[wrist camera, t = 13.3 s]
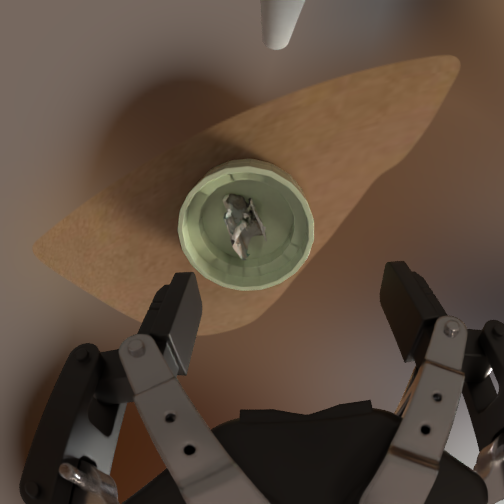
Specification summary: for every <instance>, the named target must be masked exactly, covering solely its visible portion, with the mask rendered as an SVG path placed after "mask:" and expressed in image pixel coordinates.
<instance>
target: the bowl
mask: <svg viewBox="0 0 504 504" xmlns="http://www.w3.org/2000/svg"><path fill="white" fill-rule="evenodd" d="M228 194H236V195H240V196H243V197H244V198H245V201H246V202H247V203H248V204H249V200H248V199H249V198H252V201H253V205H255V207H256V211H257V213H258V215H259V217H260V219H261V221H262V224H263V226H264V227H265V226H266V228H265V233H266V239H267V241H265V239H264V236H263V235H261V236H260V235H257V236H253V237H252V238H251V240H250V242H249V245H248V250H247V254H250V255H249V257H247V258H246V260H245V261H243V260H242V259H241V258H240V257H239V255H238V254H237V253H236V251H235V250H234V249H233V247H232V243H231V241H230V240H231V239H230V235H229V232H228V230H227V227H226V224H225V222H224V220H223V219H224V218H223V217H224V213H225V212H227V210H226V208H225V205H224V203H223V198H224V196H226V195H228ZM178 235H179V239H180V244H181V248H182V250H183V252H184V253H185V255H186V257H187V258H188V260H189V262H190V263H191V265H192V266H193V267H194V268H195V269H196V270H197V271H198V272H200V273H201V274H202V275H203V276H204V277H205V278H207V279H209V280H211V281H213V282H214V283H216V284H218V285H220V286H222V287H227V288H232V289H236V290H241V291H246V290H262V289H265V288H268V287H271V286H274V285H277V284H279V283H281V282H283V281H284V280H286V279H287V278H289V277H290V276H292V275H293V274H295V273H296V272H297V271H298V269H299V268H300V267H301V266H302V264H303V263H304V262H305V260H306V259H307V258H308V255H309V252H310V249H311V246H312V244H313V241H314V219H313V216H312V214H311V211H310V208H309V205H308V203H307V200H306V198H305V195H304V193H303V191H302V189H301V187H300V186H299V185H298V184H297V183H296V181H295V180H294V179H293V178H292V177H291V175H290V174H289V173H287V172H285V171H284V170H282V169H280V168H279V167H277V166H275V165H274V164H271V163H269V162H264V161H260V160H256V159H239V160H231V161H228V162H225V163H223V164H221V165H219V166H216V167H214V168H212V169H211V170H210V171H209V172H207V173H206V174H205V175H204V176H203V177H202V178H201V179H200V180H199V181H198V182H197V183H196V184H195V186H194V187H193V188H192V189H191V190H190V192H189V193H188V195H187V197H186V199H185V201H184V203H183V205H182V207H181V209H180V212H179V221H178ZM265 245H266V246H265Z"/></svg>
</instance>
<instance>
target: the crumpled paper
mask: <svg viewBox="0 0 504 504" xmlns="http://www.w3.org/2000/svg"><path fill="white" fill-rule="evenodd" d="M248 200H249V204H248V203H247V202H246V201H245V198H244V197H243V196H240V195H236V194H228V195H226V196H224V198H223V203H224V205H225V208H226V210H227V212H225V213H224V217H223V218H224V219H223V220H224V222H225V224H226V227H227V230H228V232H229V235H230V239H231V240H230V241H231V243H232V247H233V249H234V250H235V251H236V253H237V254H238V255H239V257H240V258H241V259H242V260H243V261H245V260H246V258H247V257H249V255H250V254H247V250H248V245H249V242H250V240H251V238H252V237H253V236H257V235H260V236H261V235H263V236H264V239H265V241H267V239H266V233H265V228H266V226H265V227H264V226H263V224H262V221H261V219H260V217H259V215H258V213H257V211H256V207H255V205H253V201H252V198H249V199H248ZM265 246H266V245H265Z"/></svg>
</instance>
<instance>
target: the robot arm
mask: <svg viewBox="0 0 504 504" xmlns="http://www.w3.org/2000/svg"><path fill="white" fill-rule="evenodd" d="M380 302H381V306H382V308H383V311H384V313H385V315H386V318H387V320H388V322H389V324H390V327H391V329H392V332H393V334H394V337H395V339H396V341H397V344H398V347H399V349H400V351H401V354H402V357H403V359H404V362H405V363H406V362H411V361H415V363H416V366H415V368H414V370H413V373H412V375H411V378H410V380H409V383H408V385H407V387H406V390H405V392H404V394H403V397H402V399H401V401H400V403H399V405H398V407H397V409H396V411H395V412H394V413H391V412H389V411H385V410H381V409H375V408H372V405H371V401H370V400H366V401H360V402H353V403H346V404H339V405H337V406H334V407H331V408H328V409H325V410H322V411H319V412H316V413H313V414H309V415H303V414H297V413H290V412H285V411H279V410H274V409H269V410H240V418H237V419H234V420H230V421H227V422H225V423H222V424H220V425H218V426H216V427H215V428H213V429H211V430H210V428H209V427H208V426H207V424H206V423H205V421H204V420H203V418H202V417H201V415H200V414H199V413H198V411H197V410H196V408H195V406H194V405H193V403H192V402H191V401H190V399H189V397H188V396H187V394H186V393H185V391H184V389H183V388H182V386H181V384H180V383H179V381H178V380H177V378H176V377H177V375H187V371H188V367H189V363H190V359H191V355H192V351H193V347H194V343H195V339H196V335H197V331H198V327H199V323H200V319H201V315H202V301H201V297H200V293H199V289H198V285H197V281H196V276H195V274H194V272H182V273H175V275H174V277H173V279H172V281H171V284H170V285H164V286H163V287H162V288H161V289H160V290H159V291H158V292H157V293H156V295H155V297H154V299H153V303H151V305H150V307H149V310H148V312H147V314H146V316H145V318H144V320H143V322H142V325H141V327H140V329H139V331H138V333H137V334H136V335H133V336H130V337H129V338H127V339H126V340H125V341H123V343H122V344H121V345H120V348H119V349H117V350H112V351H106V352H100V351H99V350H98V348H97V347H96V346H95V345H94V344H90V343H86V344H82V345H79V346H78V347H76V348H75V349H74V350H73V351H72V352H71V353H70V355H69V357H68V359H67V361H66V363H65V365H64V367H63V369H62V371H61V373H60V375H59V378H58V380H57V382H56V384H55V386H54V389H53V391H52V393H51V395H50V398H49V400H48V403H47V405H46V407H45V410H44V412H43V415H42V418H41V420H40V423H39V425H38V428H37V430H36V433H35V436H34V439H33V442H32V445H31V448H30V451H29V454H28V457H27V460H26V463H25V467H24V470H23V474H22V477H21V481H20V487H19V488H20V494H21V497H22V499H23V501H24V502H25V503H26V504H119V502H118V499H117V497H118V493H117V487H116V484H115V482H114V480H113V479H112V478H111V477H110V476H109V475H110V470H111V466H112V461H113V456H114V452H115V448H116V444H117V439H118V435H119V431H120V428H121V424H122V420H123V416H124V412H125V409H126V405H127V402H135V405H136V407H137V409H138V412H139V414H140V416H141V418H142V420H143V422H144V425H145V426H146V429H147V431H148V432H149V435H150V437H151V439H152V441H153V442H154V444H155V447H156V449H157V450H158V452H159V454H160V456H161V458H162V460H163V461H164V463H165V465H166V467H167V468H166V469H165V470H164V471H163V472H162V473H161V474H159V475H158V476H157V477H155V478H154V479H153V480H152V481H150V482H149V483H148V484H147V485H145V486H144V487H143V488H142V489H140V490H139V491H138V492H136V493H135V494H134V495H133V496H131V497H130V498H128V499H127V500H126V501H124V502H123V503H122V504H495V503H496V502H498V501H500V500H503V499H504V324H503V323H501V322H499V321H497V320H490V321H488V322H487V323H486V324H485V326H484V327H483V329H482V330H472V329H467V328H466V326H465V324H464V323H463V322H462V321H461V320H460V319H458V318H456V317H454V316H448V315H447V314H446V312H445V310H444V309H443V307H442V306H441V304H440V302H439V301H438V299H437V298H436V296H435V295H434V294H433V292H432V290H431V289H430V288H429V286H428V284H427V283H426V281H425V280H424V278H423V277H421V276H420V275H419V274H417V273H416V272H411V270H410V269H409V267H408V266H407V264H406V263H405V262H404V261H395V262H387V263H386V265H385V270H384V275H383V280H382V285H381V289H380ZM491 370H493V372H494V374H495V377H496V379H497V381H498V384H499V392H498V395H497V393H496V390H495V388H494V386H493V383H492V380H491V378H490V376H489V373H490V372H491ZM461 393H462V394H463V396H464V399H465V402H466V405H467V409H468V412H469V415H470V418H471V421H472V425H473V428H474V432H475V435H476V439H477V443H478V447H479V451H480V453H479V455H478V457H477V462H476V465H475V466H474V469H473V470H472V469H471V468H469V467H468V466H466V465H465V464H464V463H462V462H461V461H459V460H458V459H457V458H455V457H454V456H452V455H451V454H450V453H448V452H447V451H445V450H444V448H445V445H446V443H447V440H448V437H449V434H450V431H451V428H452V425H453V421H454V418H455V415H456V411H457V408H458V404H459V400H460V397H461Z"/></svg>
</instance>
